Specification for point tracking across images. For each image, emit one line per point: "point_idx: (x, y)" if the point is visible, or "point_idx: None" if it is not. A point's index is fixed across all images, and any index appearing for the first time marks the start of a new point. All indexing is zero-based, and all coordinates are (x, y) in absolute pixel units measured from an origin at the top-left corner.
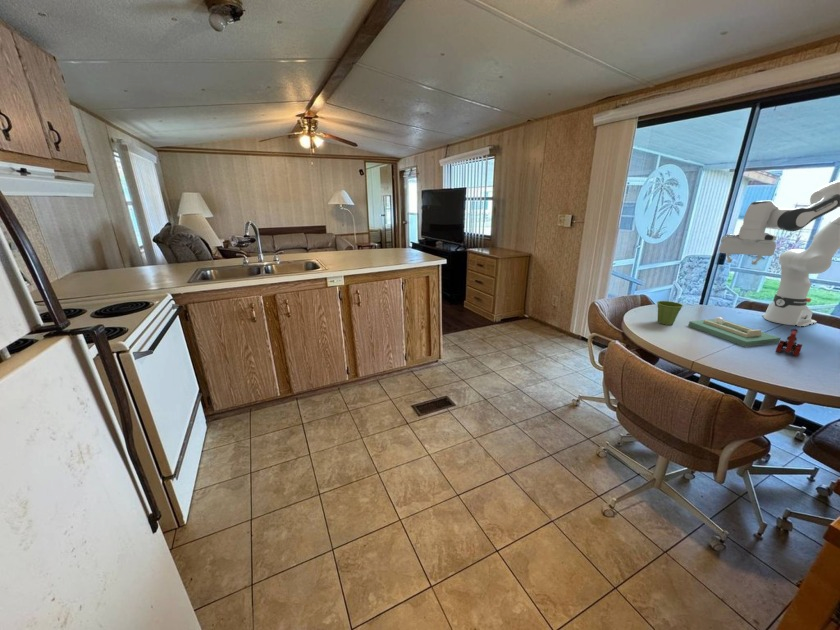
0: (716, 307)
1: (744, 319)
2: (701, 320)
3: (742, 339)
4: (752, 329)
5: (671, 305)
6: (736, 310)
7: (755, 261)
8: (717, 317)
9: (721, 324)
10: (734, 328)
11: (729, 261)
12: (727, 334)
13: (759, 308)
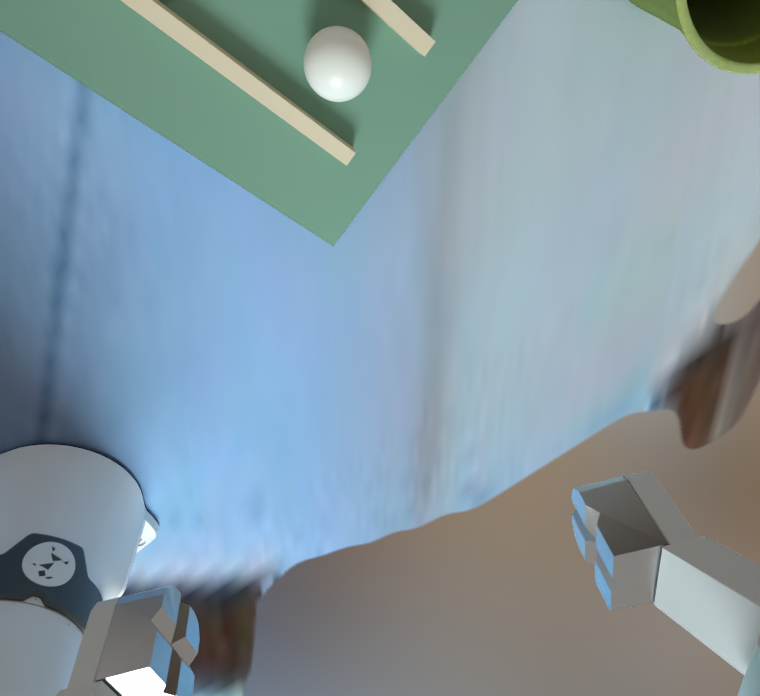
0: (357, 529)
1: (216, 408)
2: (440, 97)
3: None
4: (114, 90)
5: (722, 48)
6: (271, 538)
7: (110, 669)
8: (357, 63)
9: None
10: (221, 17)
11: (629, 494)
12: None
13: None
